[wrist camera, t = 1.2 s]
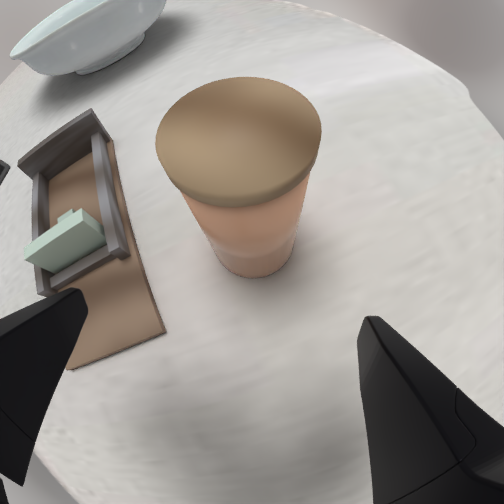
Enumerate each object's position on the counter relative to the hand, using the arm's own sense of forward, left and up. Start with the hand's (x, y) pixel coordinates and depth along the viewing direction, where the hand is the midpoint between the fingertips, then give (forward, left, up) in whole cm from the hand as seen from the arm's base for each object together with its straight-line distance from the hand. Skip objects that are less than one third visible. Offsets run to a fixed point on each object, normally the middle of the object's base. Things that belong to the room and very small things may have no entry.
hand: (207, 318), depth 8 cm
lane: (+3, +18, -13) cm, 22 cm away
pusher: (+3, +17, -12) cm, 21 cm away
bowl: (+38, +40, -13) cm, 57 cm away
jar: (+7, +2, -13) cm, 15 cm away
